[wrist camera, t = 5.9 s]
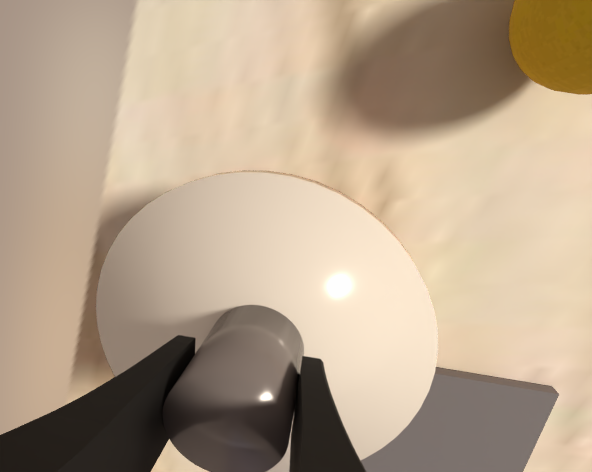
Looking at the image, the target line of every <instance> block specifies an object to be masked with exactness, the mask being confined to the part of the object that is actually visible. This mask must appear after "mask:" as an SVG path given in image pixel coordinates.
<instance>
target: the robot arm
mask: <svg viewBox="0 0 592 472" xmlns="http://www.w3.org/2000/svg"><path fill="white" fill-rule="evenodd" d="M195 340H196V338H194V337H188V336H182V335H177V336H176V337H174V338H173V339H171V340H170V341H169V342H167V343H166V344H164V345H163V346H161V347H160V348H158V349H157V350H155V351H154V352H153V353H151V354H150V355H148V356H147V357H145V358H144V359H142V360H141V361H139V362H138V363H136V364H135V365H133V366H132V367H130V368H129V369H127V370H126V371H124V372H123V373H121V374H119V375H118V376H116V377H114V378H113V379H111V380H109V381H108V382H106V383H104V384H103V385H101V386H100V387H98V388H96V389H95V390H93V391H91V392H89V393H87V394H86V395H84V396H82V397H80V398H78V399H76V400H75V401H73V402H71V403H69V404H67V405H65V406H63V407H61V408H59V409H57V410H55V411H53V412H51V413H49V414H47V415H44V416H42V417H40V418H38V419H35V420H33V421H31V422H29V423H27V424H24V425H22V426H20V427H18V428H15V429H13V430H11V431H9V432H6V433H4V434H2V435H0V472H151V470H152V468H153V466H154V465H155V463H156V461H157V459H158V457H159V456H160V454H161V452H162V450H163V449H164V447H165V445H166V443H167V441H168V440H169V437H168V435H167V433H166V431H165V427H164V424H163V406H164V403H165V400H166V398H167V396H168V394H169V393H170V391H171V390H172V388H173V386H174V385H175V383H176V382H177V380H178V379H179V377H180V376H181V374H182V373H183V371H184V370H185V368H186V367H187V365H188V364H189V362H190V361H191V359H192V358H193V356H194V355H195ZM289 472H366V470H365V468H364V466H363V464H362V462H361V461H360V459H359V457H358V455H357V453H356V451H355V449H354V447H353V445H352V443H351V441H350V439H349V436H348V434H347V432H346V430H345V427H344V425H343V423H342V420H341V418H340V416H339V413H338V410H337V408H336V405H335V402H334V400H333V397H332V394H331V391H330V388H329V385H328V381H327V378H326V374H325V369H324V363H323V361H322V360H321V359H319V358H313V357H307V356H302V363H301V369H300V376H299V384H298V391H297V398H296V404H295V410H294V417H293V424H292V431H291V445H290V467H289Z"/></svg>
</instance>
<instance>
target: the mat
mask: <svg viewBox="0 0 592 472" xmlns="http://www.w3.org/2000/svg"><path fill="white" fill-rule="evenodd" d="M558 396H559V394H558V393H557V391H556V390H555V389H554V388H553V387H552V386H546V385H540V384H534V383H528V382H522V381H516V380H510V379H504V378H498V377H492V376H486V375H480V374H474V373H468V372H462V371H456V370H450V369H444V368H438V367H436V369H435V374H434V377H433V380H432V383H431V386H430V390H429V392H428V394H427V396H426V398H425V400H424V402H423V404H422V406H421V408H420V409H419V411H418V412H417V414H416V415H415V416H414V418H413V419H412V421H411V422H410V423H409V425H408V426H407V427H406V428H405V429H404V430H403V431H402V432H401V433H400V434H399V435H398V436H397V437H396V438H395V439H393V440H392V441H391V442H389V443H388V444H387V445H386V446H384V447H383V448H382V449H380V450H378V451H377V452H375V453H373V454H372V455H370V456H368V457H366V458H365V459H362V460H360V461H361V462H362V464H363V466H364V468H365V470H366V472H523V471H524V468H525V466H526V464H527V462H528V460H529V458H530V456H531V453H532V451H533V449H534V447H535V445H536V443H537V441H538V438H539V436H540V434H541V432H542V430H543V428H544V426H545V423H546V421H547V419H548V417H549V415H550V413H551V411H552V409H553V406H554V404H555V402H556V400H557V398H558Z"/></svg>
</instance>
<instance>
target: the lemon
mask: <svg viewBox="0 0 592 472" xmlns="http://www.w3.org/2000/svg"><path fill="white" fill-rule="evenodd" d="M509 42H510V46H511V50H512V54H513V57H514V59H515V60H516V62H517V64H518V66H519V67H520V69H521V70H522V71H523V72H524V73H525V74H526V75H527V76H528V77H529V78H530V79H531V80H533V81H534V82H536V83H538V84H540V85H542V86H544V87H547V88H549V89H551V90H554V91H561V92H567V93H574V94H592V0H515V1H514V5H513V9H512V13H511V17H510V20H509Z"/></svg>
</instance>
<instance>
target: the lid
mask: <svg viewBox="0 0 592 472" xmlns="http://www.w3.org/2000/svg"><path fill="white" fill-rule="evenodd" d="M96 314H97V326H98V331H99V335H100V340H101V344H102V347H103V350H104V353H105V356H106V359H107V361H108V363H109V365H110V367H111V370H112V372H113V374H114V376H115V377H116V376H118V375H119V374H121V373H123V372H124V371H126V370H127V369H129V368H130V367H132V366H133V365H135V364H136V363H138V362H139V361H141V360H142V359H144V358H145V357H147V356H148V355H150V354H151V353H153V352H154V351H155V350H157V349H158V348H160V347H161V346H163V345H164V344H166V343H167V342H169V341H170V340H171V339H173V338H174V337H176V336H177V335H182V336H188V337H194V338H196V340H195V355H194V356H193V358H192V359H191V361H190V362H189V364H188V365H187V367H186V368H185V370H184V371H183V373H182V374H181V376H180V377H179V379H178V380H177V382H176V383H175V385H174V386H173V388H172V390H171V391H170V393H169V394H168V396H167V398H166V400H165V403H164V406H163V424H164V427H165V431H166V433H167V435H168V437H169V439H170V440H171V442H172V444H173V445H174V446H175V447H176V449H177V450H178V451H179V452H180V453H181V454H182V455H183V456H184V457H186V458H187V459H188V460H189V461H191V462H192V463H194V464H195V465H197V466H199V467H201V468H203V469H205V470H207V471H210V472H289V467H290V445H291V431H292V424H293V417H294V410H295V404H296V398H297V391H298V384H299V376H300V369H301V363H302V356H307V357H313V358H319V359H321V360H322V361H323V363H324V369H325V374H326V378H327V381H328V385H329V388H330V391H331V394H332V397H333V400H334V402H335V405H336V408H337V410H338V413H339V416H340V418H341V420H342V423H343V425H344V427H345V430H346V432H347V434H348V436H349V439H350V441H351V443H352V445H353V447H354V449H355V451H356V453H357V455H358V457H359V459H360V460H362V459H365V458H366V457H368V456H370V455H372V454H373V453H375V452H377V451H378V450H380V449H382V448H383V447H384V446H386V445H387V444H388V443H389V442H391V441H392V440H393V439H395V438H396V437H397V436H398V435H399V434H400V433H401V432H402V431H403V430H404V429H405V428H406V427H407V426H408V425H409V423H410V422H411V421H412V419H413V418H414V416H415V415H416V414H417V412H418V411H419V409H420V408H421V406H422V404H423V402H424V400H425V398H426V396H427V394H428V392H429V390H430V386H431V383H432V380H433V377H434V374H435V369H436V363H437V356H438V329H437V323H436V317H435V311H434V307H433V304H432V301H431V298H430V295H429V292H428V289H427V287H426V285H425V283H424V281H423V279H422V277H421V275H420V273H419V271H418V269H417V267H416V265H415V264H414V262H413V260H412V258H411V256H410V255H409V253H408V252H407V251H406V249H405V248H404V246H403V245H402V244H401V242H400V241H399V239H398V238H397V237H396V236H395V235H394V234H393V233H392V232H391V231H390V230H389V228H388V227H387V226H386V225H385V224H384V223H383V222H382V221H381V220H380V219H379V218H377V217H376V216H375V215H374V214H372V213H371V212H370V211H369V210H367V209H366V208H365V207H364V206H362V205H361V204H359V203H358V202H356V201H354V200H353V199H351V198H349V197H348V196H346V195H344V194H343V193H341V192H339V191H337V190H335V189H333V188H330V187H328V186H326V185H323V184H321V183H319V182H317V181H313V180H310V179H306V178H303V177H299V176H296V175H292V174H286V173H279V172H272V171H246V170H243V171H235V172H227V173H219V174H216V175H212V176H208V177H205V178H201V179H197V180H194V181H191V182H188V183H186V184H184V185H181V186H179V187H177V188H174V189H172V190H170V191H168V192H166V193H164V194H162V195H161V196H159V197H158V198H156V199H155V200H153V201H151V202H150V203H148V204H147V205H146V206H145V207H144V208H142V209H141V210H140V211H139V212H138V213H137V214H136V215H134V216H133V217H132V218H131V219H130V220H129V222H128V223H127V224H126V225H125V227H124V228H123V229H122V230H121V231H120V233H119V234H118V235H117V237H116V239H115V241H114V242H113V244H112V246H111V247H110V249H109V251H108V253H107V256H106V258H105V261H104V263H103V266H102V269H101V273H100V277H99V282H98V286H97V298H96Z"/></svg>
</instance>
